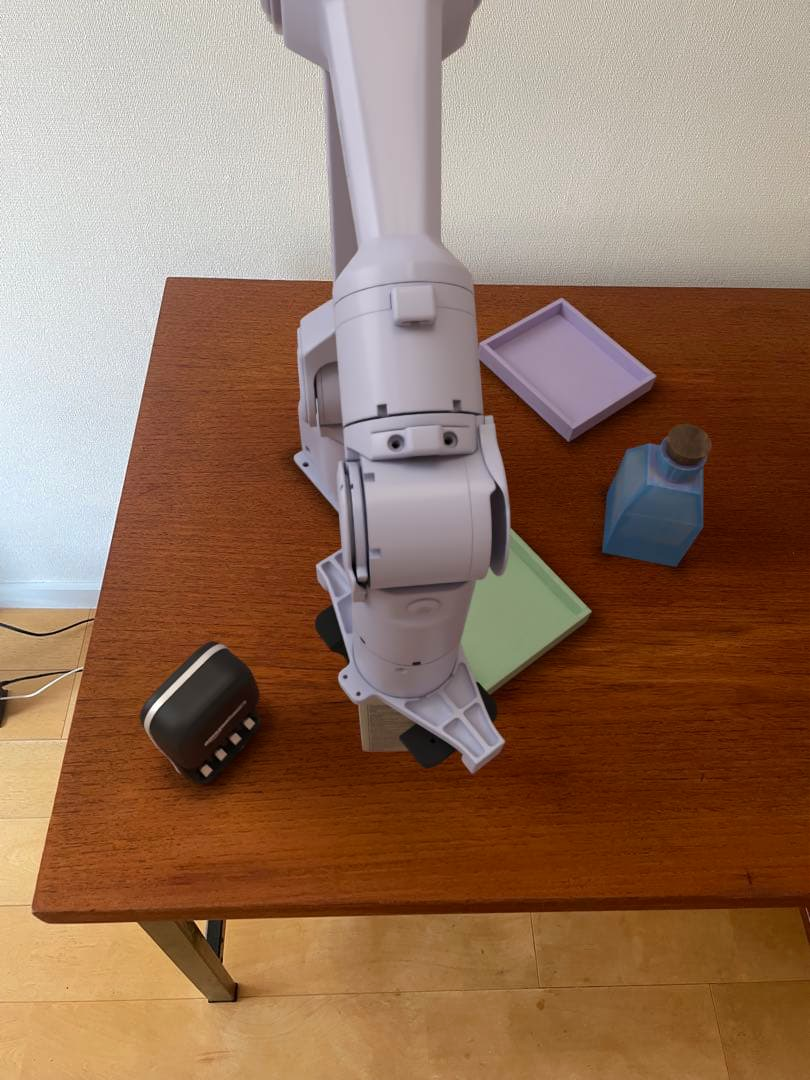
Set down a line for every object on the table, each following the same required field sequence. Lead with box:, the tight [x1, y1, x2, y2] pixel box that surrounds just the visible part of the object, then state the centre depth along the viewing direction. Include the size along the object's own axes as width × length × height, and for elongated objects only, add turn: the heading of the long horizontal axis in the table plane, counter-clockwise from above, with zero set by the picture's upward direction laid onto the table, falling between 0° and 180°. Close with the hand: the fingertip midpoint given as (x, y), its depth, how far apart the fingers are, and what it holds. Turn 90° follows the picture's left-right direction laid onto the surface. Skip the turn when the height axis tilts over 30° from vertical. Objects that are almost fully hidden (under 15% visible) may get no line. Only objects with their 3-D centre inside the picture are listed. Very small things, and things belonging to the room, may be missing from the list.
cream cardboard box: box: [358, 699, 416, 752], centre depth 50 cm, size 5×4×10 cm
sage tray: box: [461, 527, 592, 696], centre depth 64 cm, size 15×12×2 cm
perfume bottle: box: [601, 423, 712, 568], centre depth 63 cm, size 6×6×12 cm
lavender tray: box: [478, 297, 657, 443], centre depth 77 cm, size 13×11×2 cm
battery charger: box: [139, 640, 262, 785], centre depth 52 cm, size 7×4×11 cm, turn 142°
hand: (398, 705), depth 52 cm, fingers closed on cream cardboard box, 6 cm apart
